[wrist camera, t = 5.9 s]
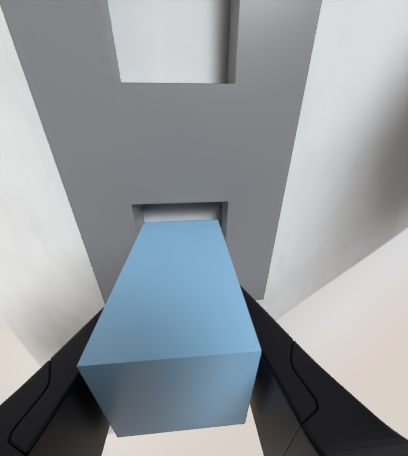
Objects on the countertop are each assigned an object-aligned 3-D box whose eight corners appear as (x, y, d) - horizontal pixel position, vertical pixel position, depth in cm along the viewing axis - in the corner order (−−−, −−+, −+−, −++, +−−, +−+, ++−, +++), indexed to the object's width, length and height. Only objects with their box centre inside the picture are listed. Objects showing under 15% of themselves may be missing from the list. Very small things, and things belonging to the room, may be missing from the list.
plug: (217, 219, 10) (261, 351, 4) (216, 282, 13) (243, 430, 6) (144, 222, 10) (76, 366, 4) (154, 286, 12) (121, 444, 6)
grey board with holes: (331, -197, 7) (384, -316, 5) (255, 281, 17) (263, 299, 15) (-42, -239, 6) (-143, -401, 4) (116, 289, 16) (107, 309, 14)
